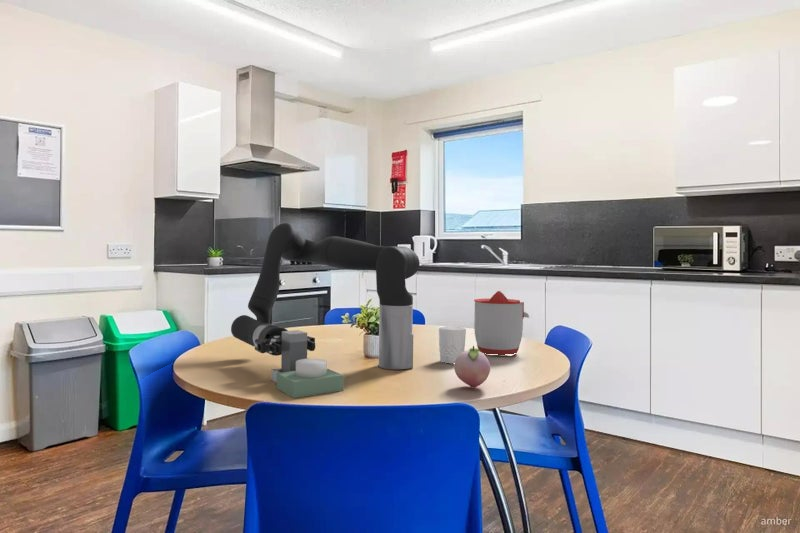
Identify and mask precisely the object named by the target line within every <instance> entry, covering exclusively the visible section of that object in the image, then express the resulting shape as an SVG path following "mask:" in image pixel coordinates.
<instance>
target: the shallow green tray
mask: <svg viewBox="0 0 800 533" xmlns="http://www.w3.org/2000/svg"><path fill="white" fill-rule="evenodd" d="M270 376H271V377H270V378H271V381H273V382H275V383H276V389H278V390H280V391H281V392H282V393H285V394H287V395H288V396H290V397H292V398H293V399H297V398H298V399H299V398H304V397H311V396H316V395H322V394H323V395H324V394H330V393H335V392H342V391H344V389H345V388H344V387H345V386H344V384H345V383H344V378H345V375H344V374H342V373H340V372H336V371H334V370H331V369H329V368H328V361H327V359H323V358H315V357H314V358H313V357H311V358H307V359H301V360H297V361H296V371H288V372H281V368H274V369H273V368H272V369H271V375H270Z"/></svg>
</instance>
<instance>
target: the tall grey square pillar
mask: <svg viewBox="0 0 800 533" xmlns="http://www.w3.org/2000/svg"><path fill="white" fill-rule="evenodd" d="M307 336H308V332H306V331H303V330H300V329H299V330H297V329H295V330H288V331H282V355H281V362H280V364H281V367H280V369H281V372H288V371H296V361H297V360H301V359H308V350H307Z"/></svg>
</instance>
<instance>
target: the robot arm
mask: <svg viewBox="0 0 800 533" xmlns="http://www.w3.org/2000/svg"><path fill="white" fill-rule="evenodd" d="M282 258H283V259H284V260H287V261H290V262H303V263H304V262H305V263H314V264H319V265H323V266H327V267H333V268H337V269H342V270H349V271H350V270H351V271H352V270H353V271H375V278H376V282H375V285H376V293H377V297H378V299H379V300H378V301H379V304H378V305H379V306H378V307H379V308H378V309H379V310H378V311H379V312H378V314H379V315H378V317H379V319H378V320H379V321H378V322H379V323H378V367H379V368H381V369H385V370H407V369H413V367H414V332H413V321H414V320H413V314H414V313H413V310H414V306H413V304H414V301H413V300H414V296H413V295H412V293H411V292H409V291H408V290H407V287H406V286H407V284H406V280H407V279H409V278H411V277H413V276H414V275H415V274H417V272H418V270H420V259H419V256H418V254H417V253H416V252H415V251H414V250H412V249H411V248H410V247H406V246H400V245H399V246H396V245H393V246H392V245H391V246H383V245H375V244H373V243H368V242H366V241H361V240H357V239H353V238H352V239H351V238H347V237H341V236H335V235H334V236H327V237H325V238H324V239H322V240H320V241H315V240H310V239H307V238H305V237H304V236H302V235H301V233H300V232H299V231H298V230H297V229H296V228H295V227H294V226H293V225H292V224H291V223H287V222H283V223H279V224H278V225H277V226H275V227H273V229H272V231H271V232H270V234H269V237H268V240H267V245H266V248H265V253H264V257H263V261H262V264H261V270H260V272H259V275H258V279H257V282H256V284H255V287H254V288H253V289H254V290H253V291H252V294H251V296H250V298H249V301H248V303H247V308H248V310H249V311H250V312H251V313H252V314H253V315H254V316H255V318H253V317H251V316H249V315H246V314H242V315H239V316H238V317H236V318H235V319H234V320H233V321H232V323H231V327H230V332H231V335H232V336H233V337H234V338H235V339H237V340H239V341H241V342H244V343H245V344H248V345H250V346H251V347H254V351H257V353H260V354H265V353H266V354H269V355H271V356H282V331H289V330H288V329H287V328H285V327H282V326H280V325H277V324H273V323H271V315H272V312H273V311H272V310H273V307H274V305H275V303H276V300H277V298H278V295H279V290H280V283H281V282H280V280H281V279H280V278H281V277H280V268H281V261H282ZM315 350H316V338H315V337H312V336H308V335H307V351H310V352H314V351H315Z"/></svg>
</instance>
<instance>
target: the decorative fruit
mask: <svg viewBox="0 0 800 533" xmlns="http://www.w3.org/2000/svg"><path fill="white" fill-rule="evenodd" d="M453 365H454V366H453V368H454V372H455V375H456V377H457V378H458V379H459V380H460V381H462V382H463V383H464V384H466V385H467V386H469V387H471V388H472V387H475V388H478V387H479V386H482V384H484V383H485V382H486V381H487V379H488V377H489V375H490V372H491V363H490V361H489V359H488V357H487V356H486V354H483V353H482V352H480V350H479V349H478V348H475V346H474V345H473V346H472V347H471V348H469V349H468V350H464V352H462V353H460V354H459V355H458V356H457V358H456V360H455V364H453Z"/></svg>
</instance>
